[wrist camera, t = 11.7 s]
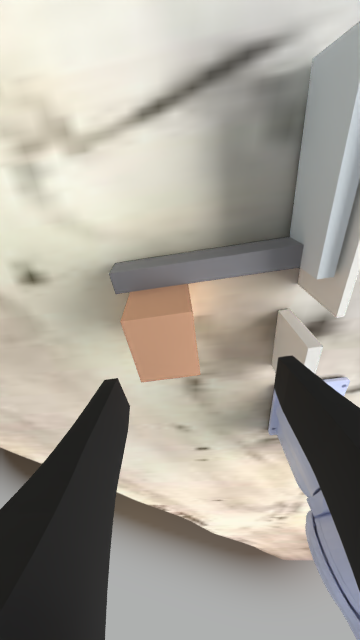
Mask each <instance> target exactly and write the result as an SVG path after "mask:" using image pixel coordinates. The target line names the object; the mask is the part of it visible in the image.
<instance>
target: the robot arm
mask: <svg viewBox="0 0 360 640" xmlns="http://www.w3.org/2000/svg"><path fill="white" fill-rule="evenodd" d="M349 382H350V380H349V379H348V378H347V377H342V378H334V379H326V380H322V379H321V378H319V377H318V376H317V375H316V374H315V373H313V372H312V371H311V370H310V369H308V368H307V367H306V366H305V365H304V364H302V363H301V362H300V361H299V360H297V359H296V358H295V357H294V356H293V355H291V356H284V357H278V362H277V370H276V377H275V385H274V393H273V400H272V407H271V413H270V420H269V427H268V433H269V434H270V435H277V436H278V438H279V441H280V443H281V446H282V448H283V450H284V453H285V455H286V458H287V460H288V463H289V465H290V468H291V470H292V472H293V475H294V477H295V480H296V482H297V484H298V486H299V487H300V489H301V490H302V491H303V493H304V494H305V495H306V496H307V497H308V498H307V502H308V504H309V506H310V509H311V511H309V512H308V513H307V515H306V536H307V541H308V545H309V548H310V551H311V554H312V557H313V560H314V562H315V565H316V567H317V569H318V572H319V574H320V576H321V578H322V580H323V582H324V584H325V586H326V588H327V590H328V592H329V593H330V595H331V597H332V598H333V600H334V601H335V603H336V604H337V606H338V607H339V608H340V610H341V611H342V613H343V615H344V617H345V619H346V620H347V622H348V624H349V626H350V628H351V630H352V631H353V633H354V635H355V637H356V639H357V640H360V408H359V407H357V406H356V405H355V404H353V403H352V402H351V401H349V400H348V399H347V398H345V397H344V394H345V392H346V390H347V387H348V385H349ZM129 411H130V405H129V403H128V401H127V398H126V396H125V394H124V392H123V389H122V387H121V385H120V382H119V380H118V378H116V379H109V380H104V382H103V383H102V384H101V386H100V387H99V389H98V390H97V392H96V393H95V395H94V396H93V397H92V399H91V400H90V402H89V403H88V405H87V406H86V408H85V409H84V411H83V412H82V413H81V415H80V416H79V418H78V419H77V420H76V422H75V423H74V424H73V426H72V427H71V429H70V430H69V431H68V433H67V434H66V435H65V436H64V438H63V439H62V440H61V442H60V443H59V444H58V445H57V447H56V448H55V449H54V451H53V452H52V453H51V454H50V455H49V457H48V458H47V459H46V460H45V461H44V463H43V464H42V465H41V466H40V467H39V469H38V470H37V471H36V472H35V473H34V474H33V475H32V477H31V478H30V479H29V480H28V481H27V482H26V483H25V484H24V485H23V486H22V487H21V488H20V489H19V491H18V492H17V493H16V494H15V495H14V496H13V497H12V498H11V499H10V500H9V501H8V502H7V503H6V504H5V505H4V506H3V507H2V508H1V509H0V640H105V625H106V605H107V588H108V573H109V559H110V547H111V535H112V525H113V516H114V507H115V497H116V491H117V484H118V479H119V474H120V469H121V464H122V459H123V453H124V448H125V443H126V438H127V432H128V424H129Z"/></svg>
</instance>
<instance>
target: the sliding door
mask: <svg viewBox="0 0 360 640" xmlns="http://www.w3.org/2000/svg"><path fill="white" fill-rule="evenodd" d="M359 179H360V22H358V23H357V24H356V25H355V26H353V27H352V28H351V29H349V30H348V31H347V32H346V33H344V34H343V35H342V36H341V37H339V38H338V39H337V40H336V41H334V42H333V43H332V44H331V45H329V46H328V47H327V48H326V49H324V50H323V51H322V52H320V53H319V54H318V55H317V56H315V57H314V58H313V59H312V67H311V75H310V82H309V90H308V98H307V106H306V113H305V121H304V129H303V137H302V144H301V152H300V160H299V167H298V175H297V183H296V191H295V198H294V206H293V214H292V221H291V229H290V237H285V238H279V239H272V240H265V241H259V242H252V243H246V244H239V245H232V246H226V247H219V248H212V249H206V250H199V251H193V252H186V253H179V254H173V255H166V256H159V257H153V258H146V259H140V260H133V261H126V262H120V263H115V264H114V266H113V268H112V269H111V271H110V273H109V275H110V278H111V281H112V284H113V287H114V290H115V293H116V294H120V293H127V292H134V291H141V290H147V289H154V288H161V287H168V286H175V285H182V284H189V283H196V282H203V281H210V280H216V279H223V278H230V277H237V276H244V275H251V274H258V273H265V272H272V271H279V270H285V269H292V268H299V267H300V268H302V269H303V270H304V271H306V272H307V273H308V274H310V275H311V276H313V277H314V278H315V279H323V278H330V277H334V275H335V271H336V267H337V264H338V260H339V256H340V252H341V248H342V244H343V241H344V237H345V233H346V229H347V225H348V222H349V218H350V214H351V210H352V206H353V202H354V199H355V195H356V191H357V187H358V183H359Z"/></svg>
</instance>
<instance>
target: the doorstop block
mask: <svg viewBox="0 0 360 640" xmlns="http://www.w3.org/2000/svg"><path fill="white" fill-rule="evenodd" d="M120 322H121V325H122V328H123V331H124V334H125V337H126V339H127V342H128V345H129V348H130V351H131V354H132V357H133V359H134V362H135V365H136V368H137V371H138V374H139V377H140V380H141V382H148V381H156V380H164V379H172V378H180V377H188V376H195V375H200V367H199V359H198V351H197V343H196V335H195V327H194V319H193V311H192V306H191V300H190V294H189V288H188V284H182V285H175V286H168V287H161V288H154V289H147V290H141V291H134V292H130V293H129V296H128V300H127V303H126V306H125V309H124V312H123V315H122V318H121V321H120Z"/></svg>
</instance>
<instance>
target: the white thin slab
mask: <svg viewBox="0 0 360 640" xmlns="http://www.w3.org/2000/svg"><path fill="white" fill-rule="evenodd" d="M359 270H360V179H359V183H358V187H357V191H356V195H355V199H354V202H353V206H352V210H351V214H350V218H349V222H348V225H347V229H346V233H345V237H344V241H343V244H342V248H341V252H340V256H339V260H338V264H337V267H336V271H335V275H334V277H330V278H323V279H315V278H314V277H313V276H311V275H310V274H308V273H307V272H306V271H304V270H303V269H302V268H300V273H299V278H298V285H299V286H300V287H302V288H303V289H304V290H305V291H306V292H307V293H308V294H310V295H311V296H312V297H313V298H314V299H315V300H317V301H318V302H319V303H320V304H321V305H322V306H323V307H325V308H326V309H327V310H328V311H329V312H330V313H331V314H333V315H334V316H335V317H336V318H337V317H344V316H345V313H346V310H347V307H348V304H349V301H350V298H351V295H352V292H353V288H354V285H355V282H356V279H357V276H358V273H359ZM322 349H323V345H322V344H321V343H320V342H319V341H318V340H317V339H316V338H315V336H314V335H313V334H312V333H311V332H310V331H309V330H308V329H307V327H306V326H305V325H304V324H303V323H302V322H301V321H300V320H299V318H298V317H297V316H296V315H295V314H294V313H293V312H292V311H291V309H285V310H278V317H277V325H276V333H275V341H274V349H273V357H272V367H273V369H274V371H275V373H276V370H277V362H278V357H284V356H291V355H293V356H294V357H295V358H296V359H297V360H299V361H300V362H301V363H302V364H304V365H305V366H306V367H307V368H308V369H310V370H311V371H312V372H313V373H315V374H316V370H317V367H318V363H319V360H320V356H321V353H322Z"/></svg>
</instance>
